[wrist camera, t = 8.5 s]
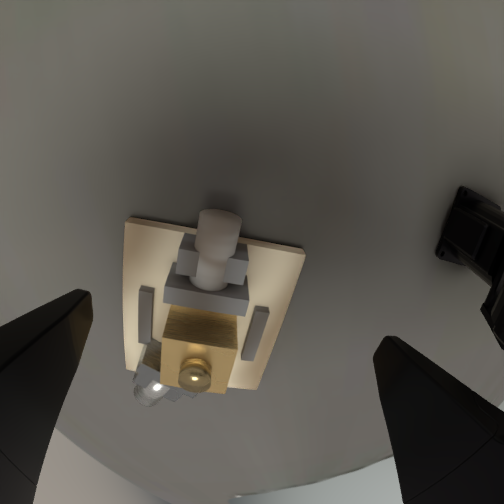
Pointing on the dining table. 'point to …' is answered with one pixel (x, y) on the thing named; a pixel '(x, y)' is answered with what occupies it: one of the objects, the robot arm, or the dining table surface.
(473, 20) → the dining table surface
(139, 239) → the cream mounting plate
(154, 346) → the shaft
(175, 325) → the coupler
